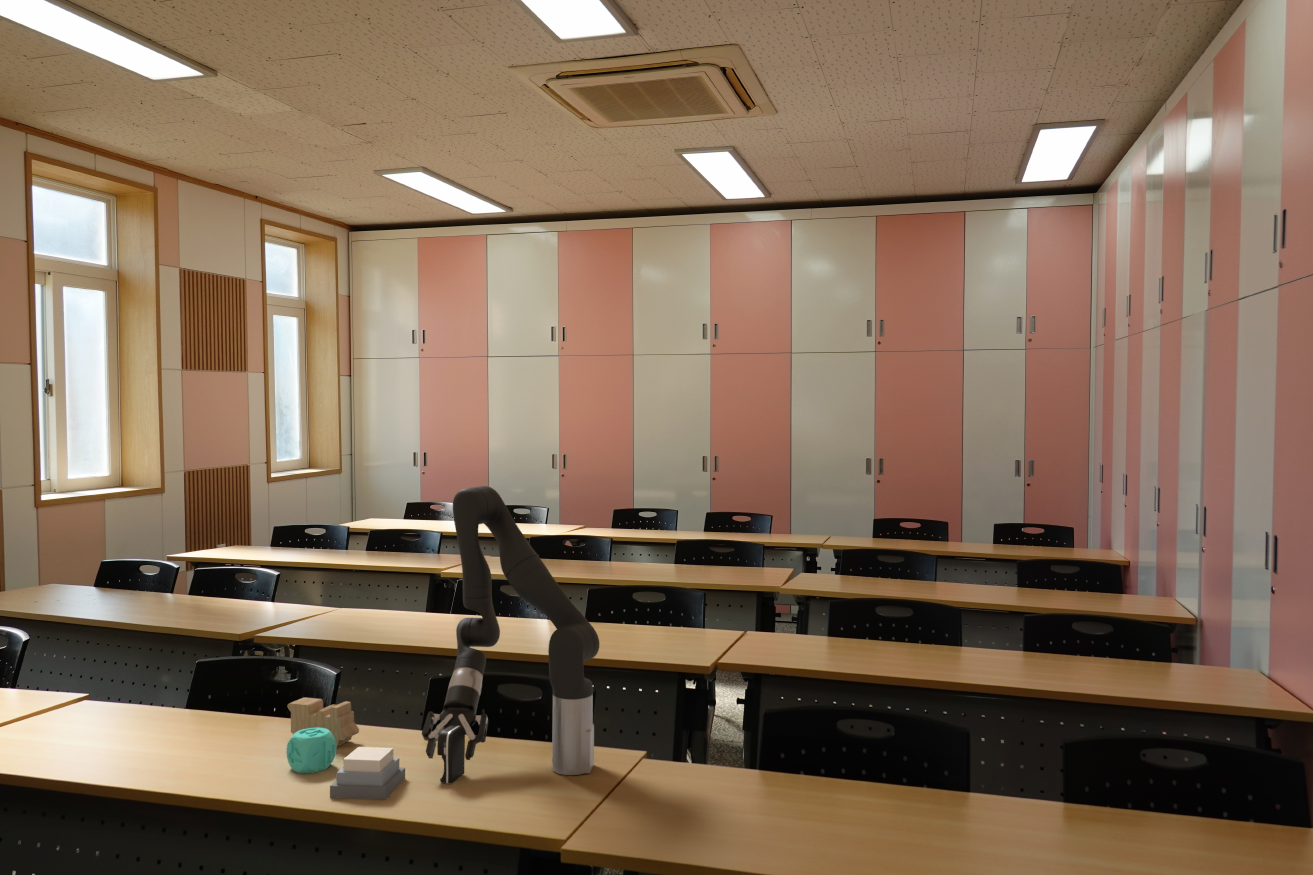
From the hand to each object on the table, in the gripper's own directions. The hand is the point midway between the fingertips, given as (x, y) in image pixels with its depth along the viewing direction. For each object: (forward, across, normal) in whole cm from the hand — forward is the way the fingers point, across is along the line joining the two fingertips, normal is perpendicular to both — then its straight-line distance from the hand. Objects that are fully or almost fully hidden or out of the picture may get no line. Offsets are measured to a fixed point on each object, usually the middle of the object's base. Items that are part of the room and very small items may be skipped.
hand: (448, 757), depth 204 cm
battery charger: (+3, 0, +5) cm, 6 cm away
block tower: (+8, -16, 0) cm, 18 cm away
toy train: (-12, -39, +20) cm, 45 cm away
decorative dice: (0, -34, +8) cm, 35 cm away
